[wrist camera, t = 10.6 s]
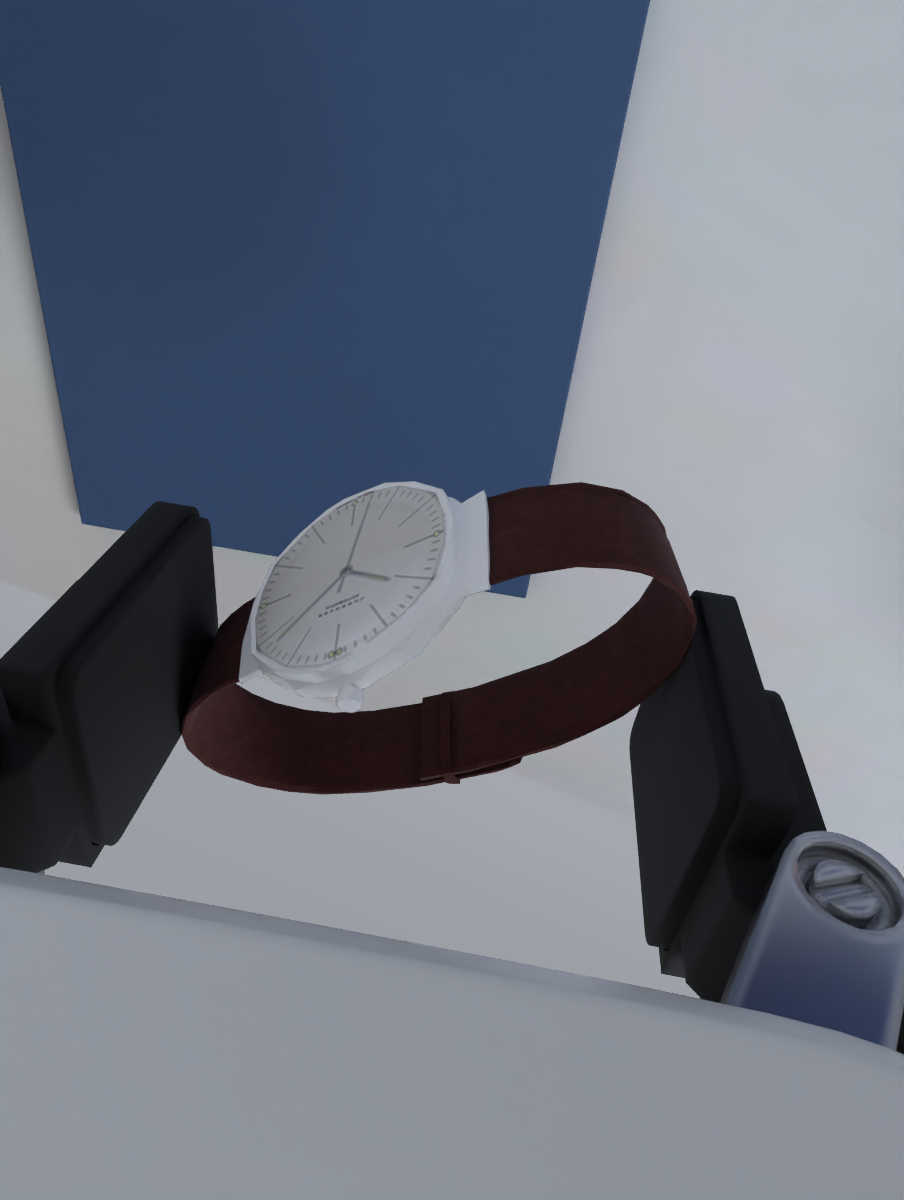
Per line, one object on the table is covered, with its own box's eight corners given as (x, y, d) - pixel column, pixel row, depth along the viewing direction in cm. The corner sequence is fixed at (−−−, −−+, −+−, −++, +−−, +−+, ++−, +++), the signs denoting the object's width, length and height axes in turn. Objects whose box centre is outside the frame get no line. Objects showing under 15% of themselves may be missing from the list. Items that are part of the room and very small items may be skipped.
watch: (608, 367, 10) (624, 490, 7) (724, 637, 12) (774, 822, 9) (167, 573, 13) (43, 725, 10) (323, 763, 15) (260, 937, 12)
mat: (526, 591, 24) (525, 598, 23) (88, 518, 24) (81, 523, 24) (700, -251, 13) (703, -259, 13) (-68, -345, 14) (-83, -357, 14)
